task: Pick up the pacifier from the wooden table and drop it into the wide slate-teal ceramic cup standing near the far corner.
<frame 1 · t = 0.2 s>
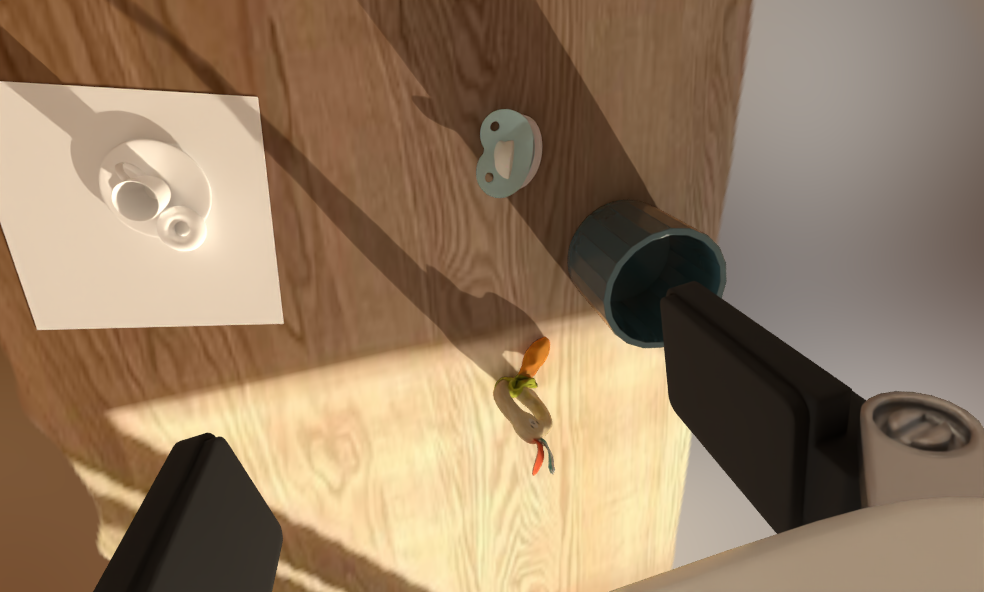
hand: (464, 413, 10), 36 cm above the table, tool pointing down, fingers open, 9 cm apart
rattle: (529, 372, 56), on the table
teacup and saucer: (143, 218, 41), on the table
pacifier: (507, 151, 45), on the table
cup: (619, 253, 51), on the table
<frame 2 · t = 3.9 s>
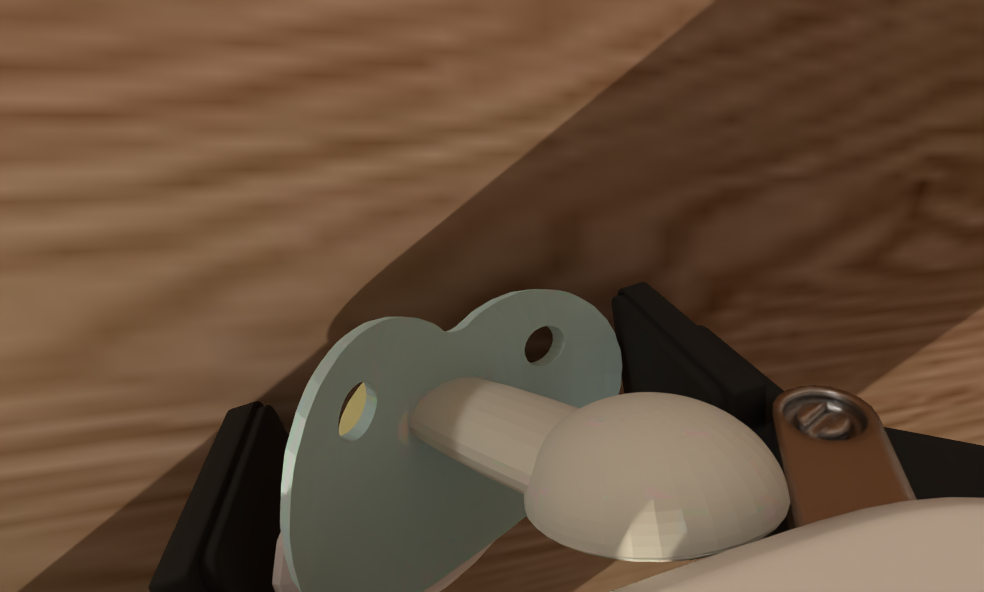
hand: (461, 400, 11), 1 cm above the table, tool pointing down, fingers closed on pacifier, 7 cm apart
pacifier: (412, 438, 10), point 2 cm above the table, touching gripper
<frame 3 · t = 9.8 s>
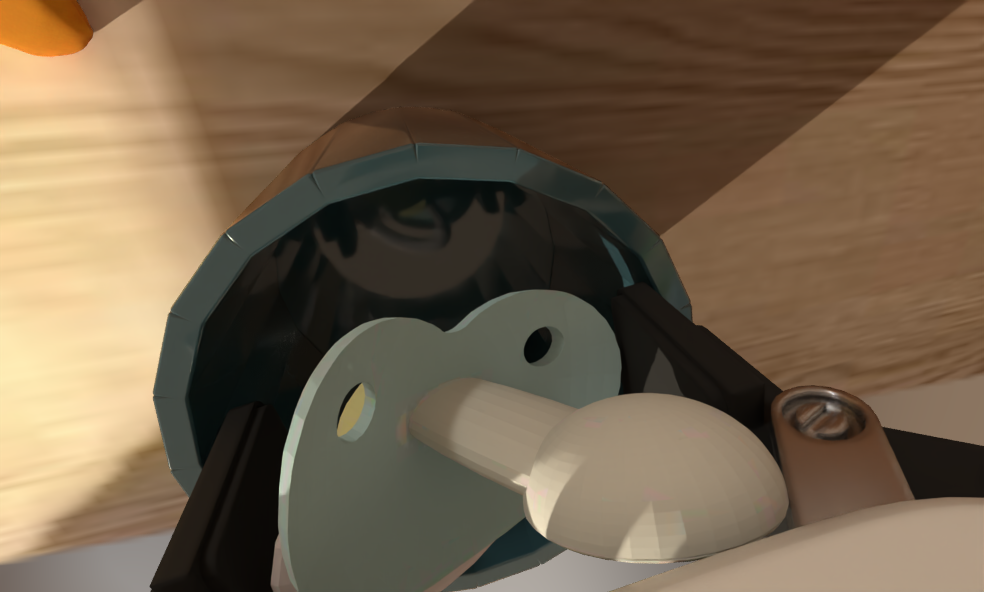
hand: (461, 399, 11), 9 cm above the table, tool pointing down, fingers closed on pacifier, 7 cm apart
pacifier: (411, 439, 10), point 10 cm above the table, touching gripper
cup: (420, 262, 19), on the table
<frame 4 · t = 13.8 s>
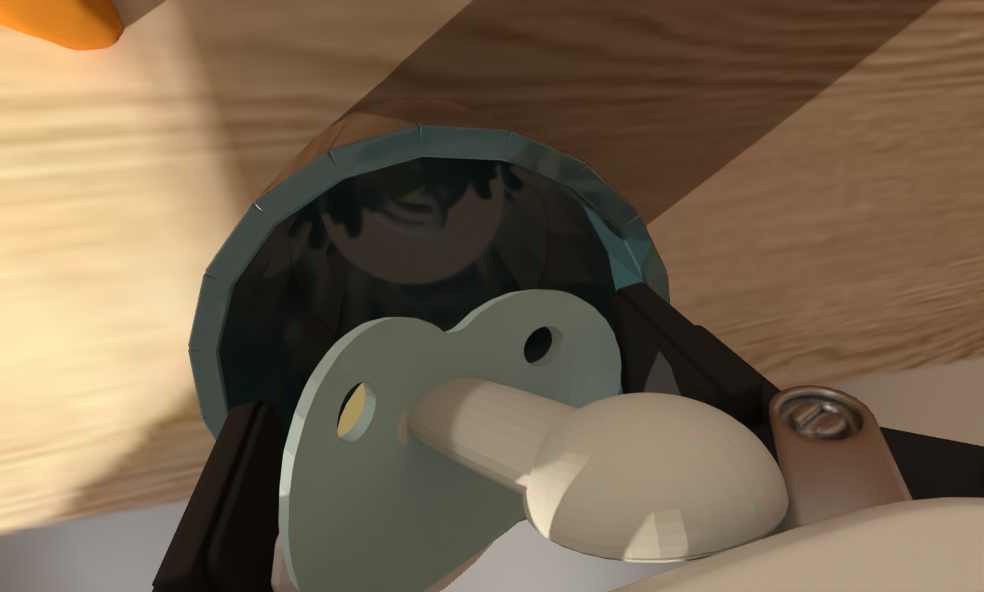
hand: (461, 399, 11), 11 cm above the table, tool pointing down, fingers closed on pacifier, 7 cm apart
pacifier: (411, 438, 10), point 12 cm above the table, touching gripper
cup: (424, 245, 20), on the table
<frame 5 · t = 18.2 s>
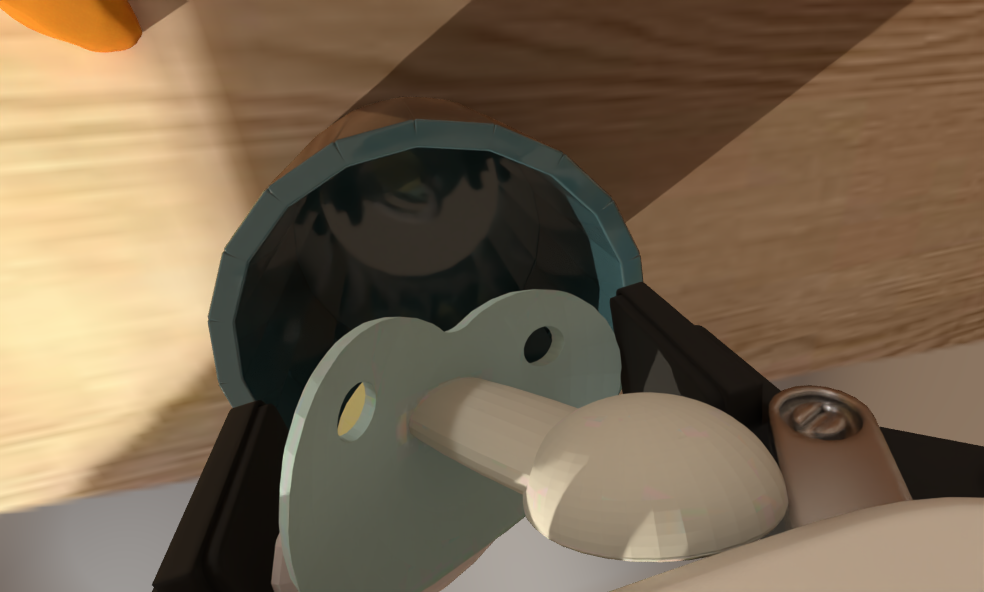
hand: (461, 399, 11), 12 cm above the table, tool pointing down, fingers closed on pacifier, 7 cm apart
pacifier: (411, 438, 10), point 13 cm above the table, touching gripper
cup: (421, 235, 22), on the table
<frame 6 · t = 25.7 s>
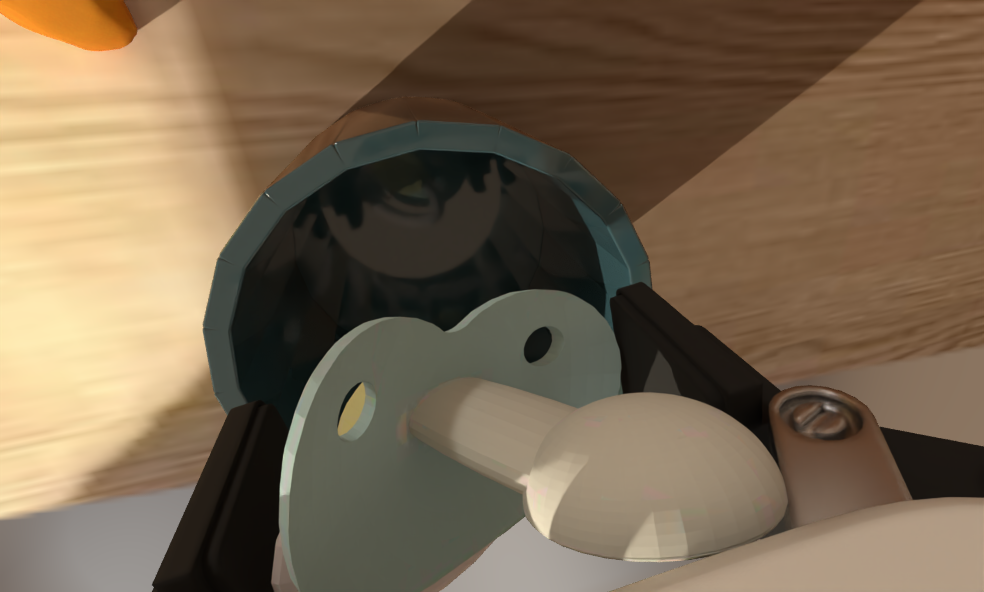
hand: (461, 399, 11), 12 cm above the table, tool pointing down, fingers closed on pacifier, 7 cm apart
pacifier: (411, 438, 10), point 12 cm above the table, touching gripper
cup: (422, 238, 21), on the table
when the fingers open (12 cm above the table, at t = 32.6 s): pacifier drops 12 cm, resting on cup.
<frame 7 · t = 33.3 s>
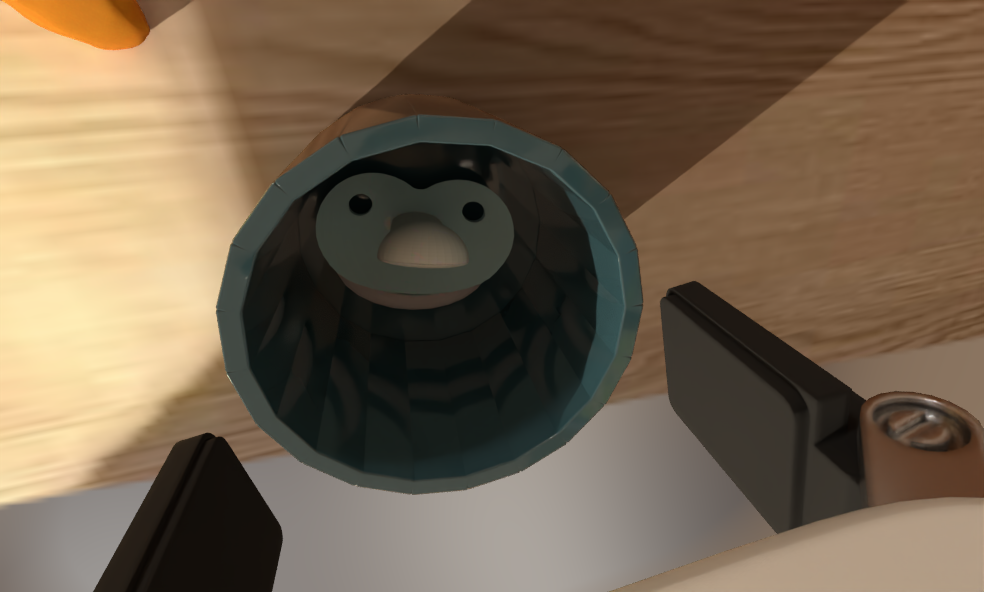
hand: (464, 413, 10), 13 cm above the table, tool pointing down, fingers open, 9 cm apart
pacifier: (413, 239, 21), point 1 cm above the table, touching cup
cup: (423, 231, 22), on the table, touching pacifier
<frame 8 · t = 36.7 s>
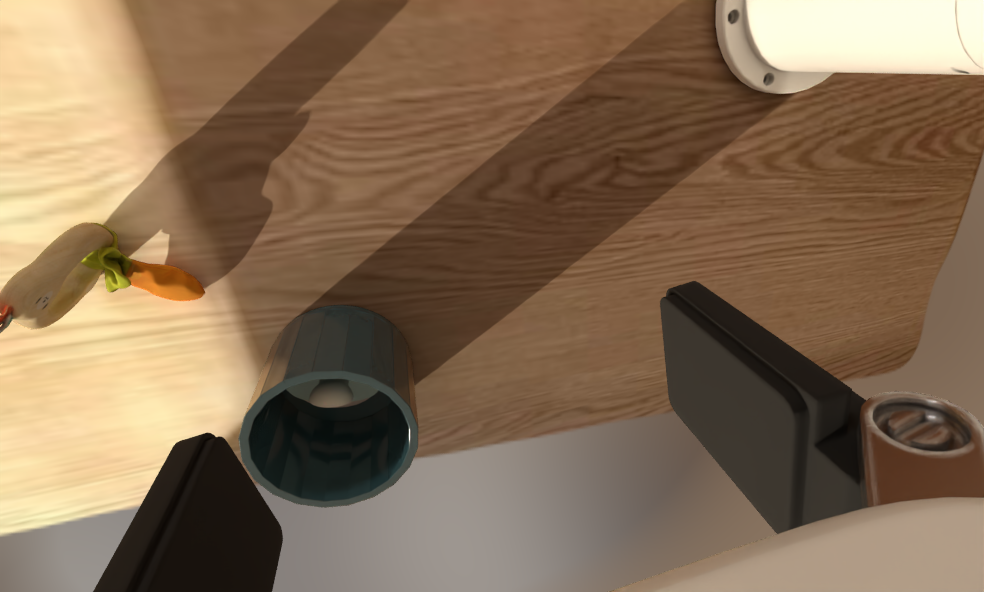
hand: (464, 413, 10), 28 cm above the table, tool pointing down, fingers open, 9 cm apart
rattle: (129, 275, 35), on the table
pacifier: (337, 371, 41), point 1 cm above the table, touching cup
cup: (342, 365, 41), on the table, touching pacifier
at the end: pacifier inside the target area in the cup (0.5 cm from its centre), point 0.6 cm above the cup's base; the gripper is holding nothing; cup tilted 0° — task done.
